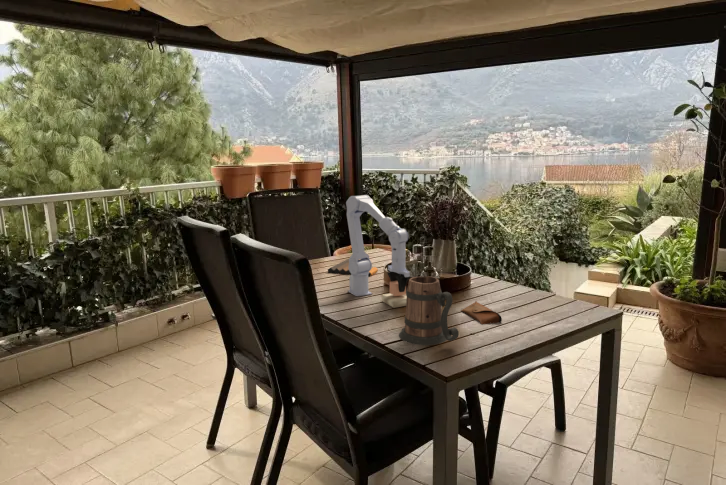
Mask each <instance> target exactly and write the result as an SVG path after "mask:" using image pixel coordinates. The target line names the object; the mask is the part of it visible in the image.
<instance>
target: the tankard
mask: <svg viewBox="0 0 726 485" xmlns="http://www.w3.org/2000/svg"><path fill="white" fill-rule="evenodd" d="M407 284H408V285H407V287H406V296H407V300H406V306H405V316H404V327H403V328H402V330H401V331H400V332H399V333H398V338H399V339H400V340H401V341H403V342H406V343H408V344H412V345H419V346H432V345H433V346H434V345H439V344H442V343H445V342H446V341H448V342H449V341H450V342H451V341H455V340H457V339H458V338H459V334H460V333H459V330H458V329H457V327H451V328H449V327H448V315H449V311H450V309H451V307H452V305H453V301H454V299H453V296H452V293H450V292H448V291H444V292H442V288H441V284H440V279H439V278H437V277H435V276H413V277H411V278H409V279H408V282H407ZM441 306H442V307H444V308H443V309H442V308H441Z"/></svg>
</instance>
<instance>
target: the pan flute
mask: <svg viewBox="0 0 726 485" xmlns="http://www.w3.org/2000/svg"><path fill="white" fill-rule="evenodd" d="M378 271H379V269H378V268H377V267H376V266H374V267H373V266H372V268H371V270H370V271H369V274H368V277H372V276H374V275H375V274H376V272H377V273H378ZM327 272H328V273H329V274H338V273H339V274H340V275H349V274H351V273H350V271H349V258H348V259H345V260H343V261H340V262H339V263H337V264H335V265H333V266H331V267H329V268H328V269H327ZM373 274H374V275H373ZM371 275H372V276H371Z"/></svg>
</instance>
